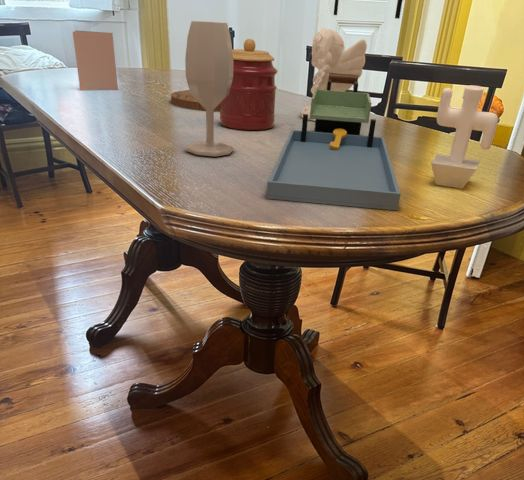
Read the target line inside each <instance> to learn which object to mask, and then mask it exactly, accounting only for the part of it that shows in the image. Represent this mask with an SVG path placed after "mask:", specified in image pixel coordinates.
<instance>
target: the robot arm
mask: <svg viewBox="0 0 524 480" xmlns="http://www.w3.org/2000/svg"><path fill="white" fill-rule="evenodd" d="M339 1H340V0H334V6H333V16H338V9H339ZM402 6H403V0H397V2H396V8H395V14H394V19H397V20H399V19H400V17H401V11H402Z"/></svg>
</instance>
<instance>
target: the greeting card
mask: <svg viewBox="0 0 524 480" xmlns="http://www.w3.org/2000/svg"><path fill="white" fill-rule="evenodd" d="M72 38H73V46H74V53H75V61H76V69H77V76H78V84H79V91H114V90H115V91H116V90H119V88H118V87H119V85H118V75H117V65H116V55H115V45H114V34H113V32H108V31H107V32H106V31H105V32H104V31H91V30H90V31H88V30H76V29H75V30H74V31H72Z"/></svg>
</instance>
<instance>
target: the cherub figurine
mask: <svg viewBox="0 0 524 480" xmlns="http://www.w3.org/2000/svg"><path fill="white" fill-rule="evenodd" d="M312 38H313V39H312V46H311V62H310V63H311V66H312V67H314V68H316V69H317V70H318V71H317V72H316V73H315V75H314V76H313V78H312V83H313V84H312V87H311V89H310V93H311V94H312V95H313V94H314V91H315V89H317V90H327V83H328V79H329V73H338V74H352V75H358V79H360V78H361V76H362V74H363V68H364V67H365V64H366V55H365V54H366V51H367V48H368V45H367V41H366V39H360V40H358V41H357V42H356V43H354V44H353V45H352V46H350V47H348V48H347V49H345V41H344V39H343V37H342V36H341V35H340V33H339V32H336V30H333V29H331V28H325V27H323V28H320V29H319V30H318V31H317V32H316V34H315V35H314V37H312ZM353 85H354V84H343V83H331V91H344V92H347V91H348V90H350V89H351V88H353ZM316 105H317V104H316ZM329 106H330V105H329ZM310 110H311V102H310V103H309V104H307V106H304V108H302V109H301V111H300V117H301V118H302V119H303V114H308V121H312V122H316V119H310Z"/></svg>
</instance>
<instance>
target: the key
mask: <svg viewBox="0 0 524 480" xmlns="http://www.w3.org/2000/svg"><path fill="white" fill-rule="evenodd" d="M346 135H347V132H346V130H344V129H341V128H338V129H335V130H334V131H333V136H334V137H335V141H334V142H333V141H331V142H330V146H329V148H330V149H333V150H339V146H340V143H341V139H342V138H345V137H346Z"/></svg>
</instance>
